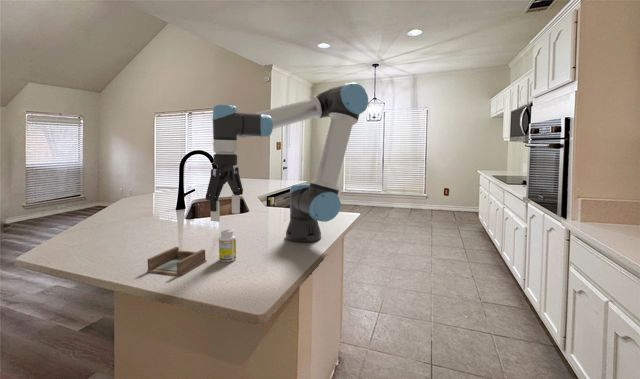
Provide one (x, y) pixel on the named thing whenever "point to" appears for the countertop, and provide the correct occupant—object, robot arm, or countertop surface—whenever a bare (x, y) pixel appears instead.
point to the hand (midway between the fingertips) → (226, 217)
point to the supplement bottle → (227, 246)
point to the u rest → (176, 261)
